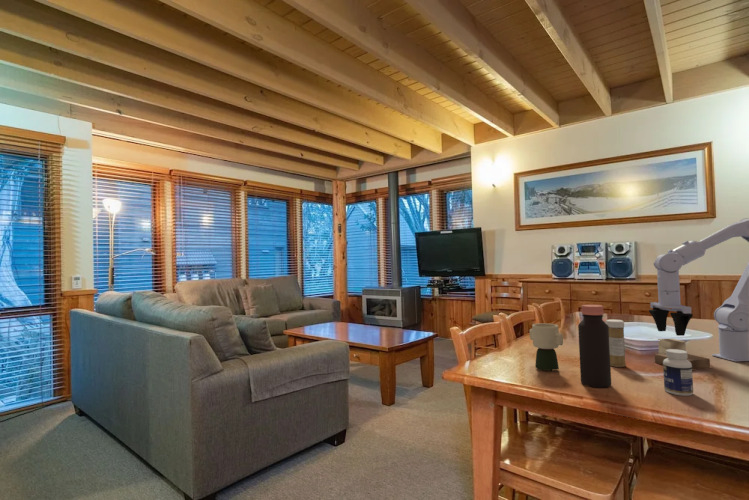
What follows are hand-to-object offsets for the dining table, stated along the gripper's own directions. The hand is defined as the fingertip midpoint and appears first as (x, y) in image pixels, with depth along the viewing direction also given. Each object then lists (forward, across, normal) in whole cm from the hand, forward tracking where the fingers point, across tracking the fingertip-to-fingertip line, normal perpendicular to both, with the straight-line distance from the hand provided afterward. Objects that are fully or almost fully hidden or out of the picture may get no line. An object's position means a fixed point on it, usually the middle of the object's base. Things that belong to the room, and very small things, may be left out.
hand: (670, 333), depth 125 cm
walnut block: (+8, +11, -6) cm, 15 cm away
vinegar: (+8, +25, -40) cm, 48 cm away
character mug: (+8, +11, -46) cm, 48 cm away
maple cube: (+7, 0, 0) cm, 7 cm away
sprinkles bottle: (+8, +9, -24) cm, 27 cm away
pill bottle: (+7, +33, -25) cm, 42 cm away
